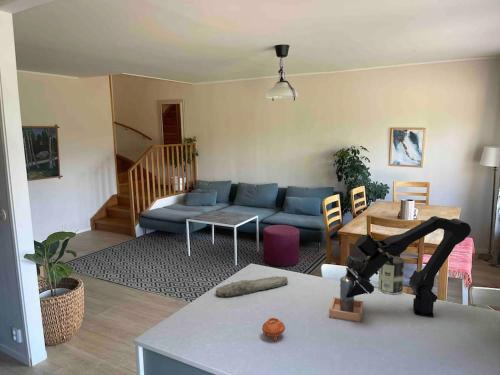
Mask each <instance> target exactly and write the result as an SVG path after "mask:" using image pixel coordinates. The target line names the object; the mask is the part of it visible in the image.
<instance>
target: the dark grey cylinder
mask: <svg viewBox="0 0 500 375" xmlns="http://www.w3.org/2000/svg"><path fill="white" fill-rule="evenodd" d="M339 283H340V284H339V286H340V287H339V298H340V311H345V312H352V313H354V300H355V296H354V297H350V298H347V297H346V295H347V293H348V292H349V291H350V290H351V289H352V288H353V286H354V285H355V281H354V278H352V277H349V276H342V277H340V282H339Z"/></svg>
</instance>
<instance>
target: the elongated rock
mask: <svg viewBox="0 0 500 375" xmlns="http://www.w3.org/2000/svg"><path fill="white" fill-rule="evenodd" d="M288 283H289V280H288V277H287V276H275V275H274V276H272V277H263V278H258V279H250V280H249V279H244V280H239V281H235V282H231V283H228V284H225V285H221V286H218V287H216V289H215V294H216V295H217V296H218V297H222V298H224V297H236V296H245V295H247V294H252V293H256V292H258V291H265V290H268V289H275V288H280V287H283V286H286V285H288Z"/></svg>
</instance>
